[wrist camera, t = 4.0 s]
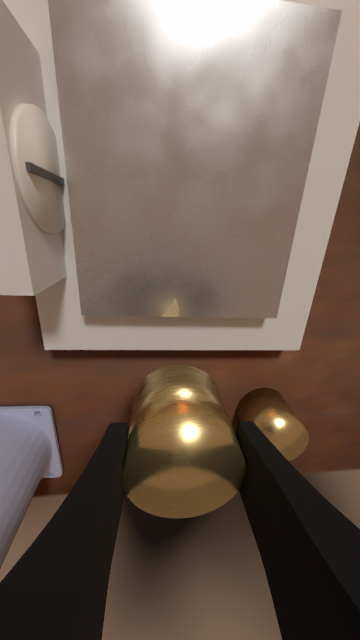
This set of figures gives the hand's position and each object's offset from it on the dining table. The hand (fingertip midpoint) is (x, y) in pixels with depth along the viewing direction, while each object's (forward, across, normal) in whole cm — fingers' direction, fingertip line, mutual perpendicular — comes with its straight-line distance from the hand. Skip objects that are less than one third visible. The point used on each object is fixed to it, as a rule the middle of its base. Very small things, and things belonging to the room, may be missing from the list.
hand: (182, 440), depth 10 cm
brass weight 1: (+2, 0, 0) cm, 3 cm away
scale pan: (+7, 0, -10) cm, 12 cm away
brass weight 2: (+10, -9, +7) cm, 15 cm away
